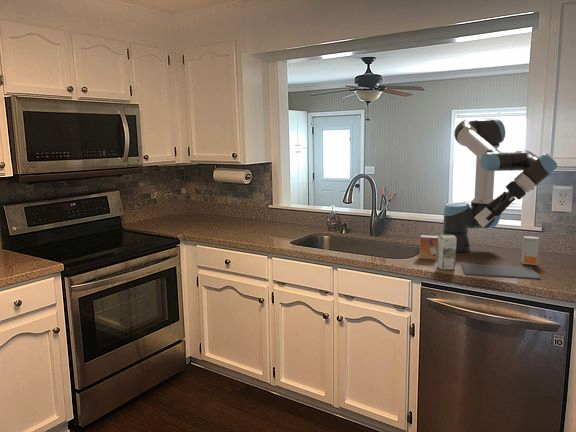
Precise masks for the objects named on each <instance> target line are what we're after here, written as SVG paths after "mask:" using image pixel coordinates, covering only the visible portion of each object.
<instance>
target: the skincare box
mask: <svg viewBox="0 0 576 432" xmlns="http://www.w3.org/2000/svg"><path fill="white" fill-rule="evenodd" d="M522 238H523V239H522V248H521V261H520V262H521V264H522V265H531V266H538V260H539V259H538V257H539V247H540V237H538V236H530V235H529V236H525V235H524V236H522Z"/></svg>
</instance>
